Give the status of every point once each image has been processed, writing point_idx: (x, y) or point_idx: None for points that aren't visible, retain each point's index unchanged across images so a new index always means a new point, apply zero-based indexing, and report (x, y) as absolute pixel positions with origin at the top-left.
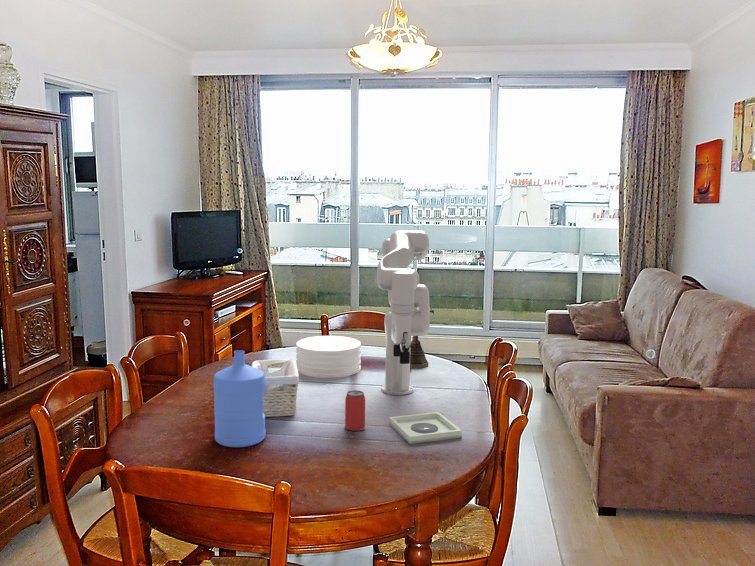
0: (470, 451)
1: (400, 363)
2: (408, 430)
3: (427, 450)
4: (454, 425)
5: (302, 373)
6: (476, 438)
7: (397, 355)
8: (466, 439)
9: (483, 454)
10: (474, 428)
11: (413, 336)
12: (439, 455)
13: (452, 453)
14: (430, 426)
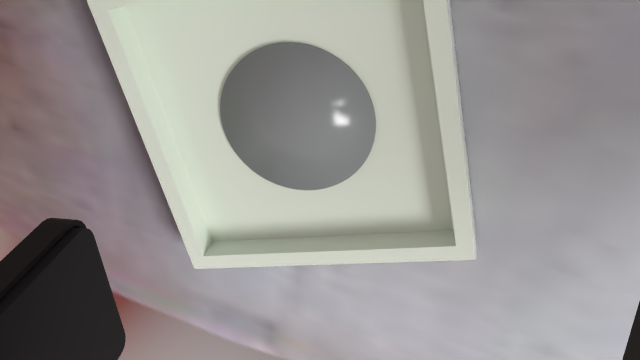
0: None
1: (53, 222)
2: (266, 20)
3: (47, 56)
4: (257, 262)
5: None
6: (202, 294)
7: (636, 339)
8: None
9: None
10: (314, 329)
11: None
12: (4, 94)
13: (36, 153)
14: (313, 158)
